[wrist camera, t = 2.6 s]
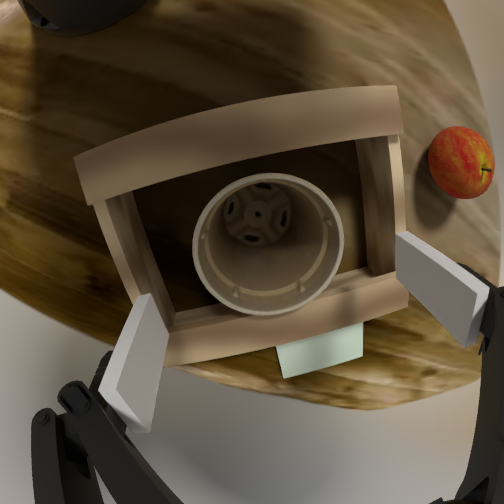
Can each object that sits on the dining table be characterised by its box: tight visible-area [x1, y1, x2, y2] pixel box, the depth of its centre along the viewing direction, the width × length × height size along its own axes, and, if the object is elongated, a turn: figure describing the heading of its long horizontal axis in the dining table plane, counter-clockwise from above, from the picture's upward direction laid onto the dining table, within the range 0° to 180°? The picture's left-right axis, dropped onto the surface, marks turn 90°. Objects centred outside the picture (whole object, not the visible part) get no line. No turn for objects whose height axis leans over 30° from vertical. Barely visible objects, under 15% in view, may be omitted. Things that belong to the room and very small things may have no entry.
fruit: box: [428, 126, 495, 199], centre depth 21 cm, size 7×7×8 cm
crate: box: [73, 85, 409, 368], centre depth 23 cm, size 18×22×7 cm
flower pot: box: [192, 173, 344, 315], centre depth 22 cm, size 9×9×9 cm
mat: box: [276, 322, 363, 378], centre depth 31 cm, size 10×10×1 cm
